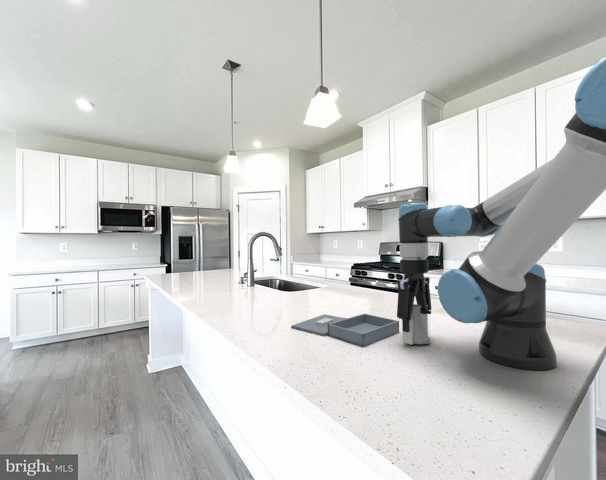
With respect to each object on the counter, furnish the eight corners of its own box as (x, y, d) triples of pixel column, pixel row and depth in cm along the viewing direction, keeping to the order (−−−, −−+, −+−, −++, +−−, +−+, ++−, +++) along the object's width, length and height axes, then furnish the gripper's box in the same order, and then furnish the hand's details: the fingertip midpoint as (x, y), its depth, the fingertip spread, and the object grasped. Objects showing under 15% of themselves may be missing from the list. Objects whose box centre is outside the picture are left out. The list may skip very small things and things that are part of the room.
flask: (425, 337, 86) (424, 302, 86) (433, 345, 79) (433, 308, 79) (400, 336, 87) (399, 302, 87) (406, 345, 80) (405, 308, 80)
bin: (399, 332, 91) (399, 321, 91) (363, 347, 79) (362, 334, 79) (364, 323, 101) (364, 313, 101) (327, 335, 89) (327, 324, 89)
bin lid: (355, 322, 103) (355, 317, 103) (324, 336, 89) (324, 331, 89) (324, 316, 112) (324, 312, 112) (291, 328, 98) (291, 323, 98)
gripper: (418, 256, 93) (420, 329, 93) (381, 260, 79) (383, 345, 79) (443, 257, 87) (445, 334, 87) (407, 261, 74) (409, 352, 73)
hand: (415, 339), depth 83 cm, fingers closed on flask, 8 cm apart
